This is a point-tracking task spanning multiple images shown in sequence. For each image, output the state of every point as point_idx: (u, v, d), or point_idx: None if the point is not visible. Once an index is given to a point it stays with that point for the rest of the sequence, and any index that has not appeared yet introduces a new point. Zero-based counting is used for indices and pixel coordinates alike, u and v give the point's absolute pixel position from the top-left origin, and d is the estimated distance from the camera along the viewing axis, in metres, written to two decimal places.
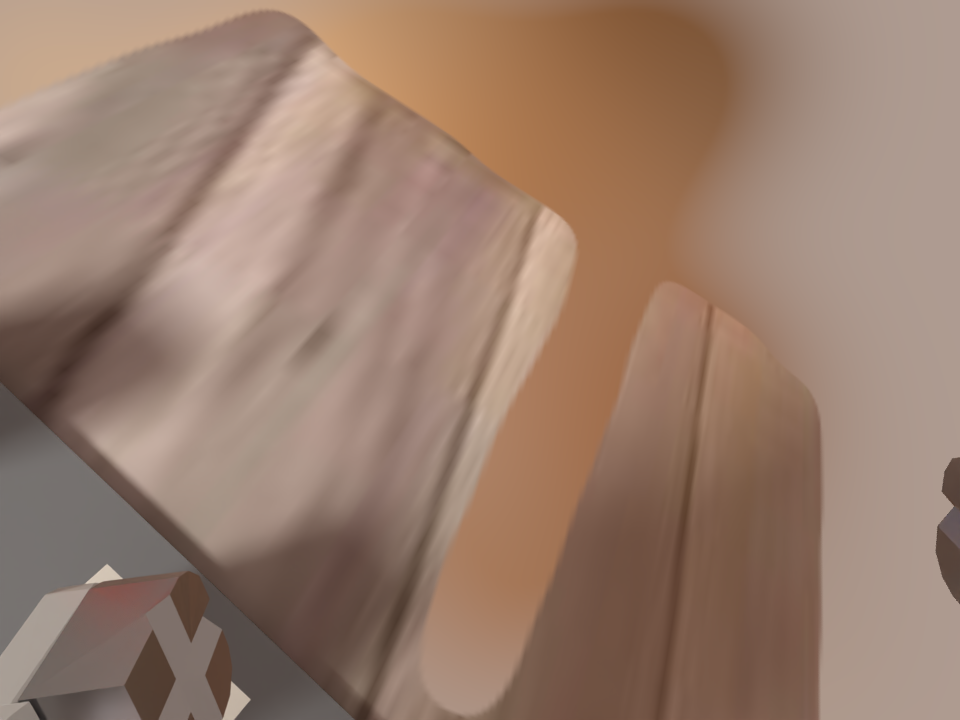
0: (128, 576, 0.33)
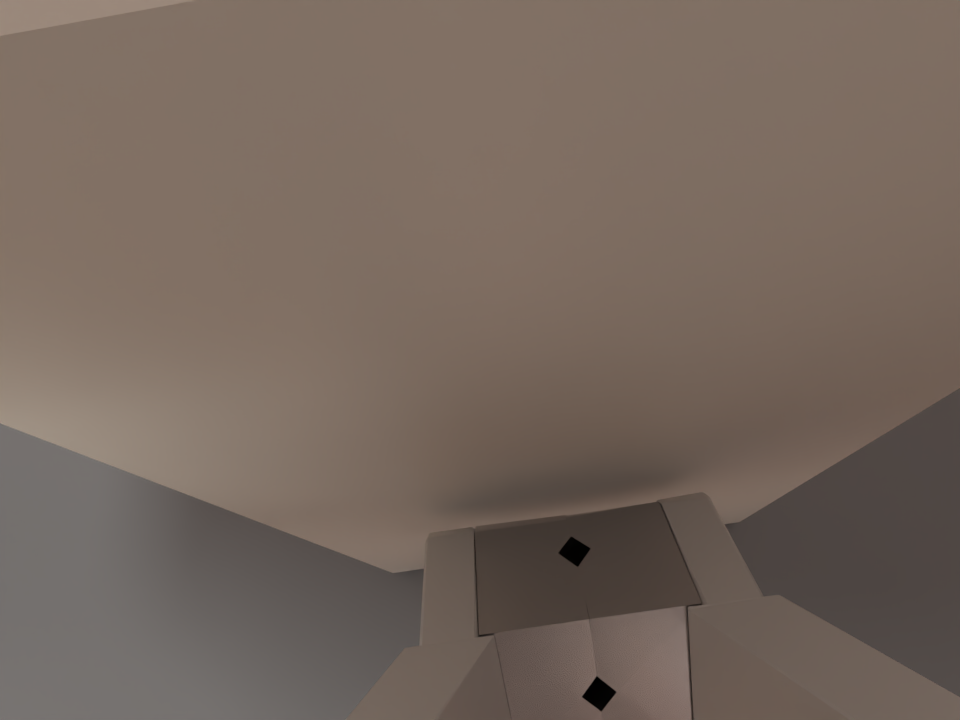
0: None
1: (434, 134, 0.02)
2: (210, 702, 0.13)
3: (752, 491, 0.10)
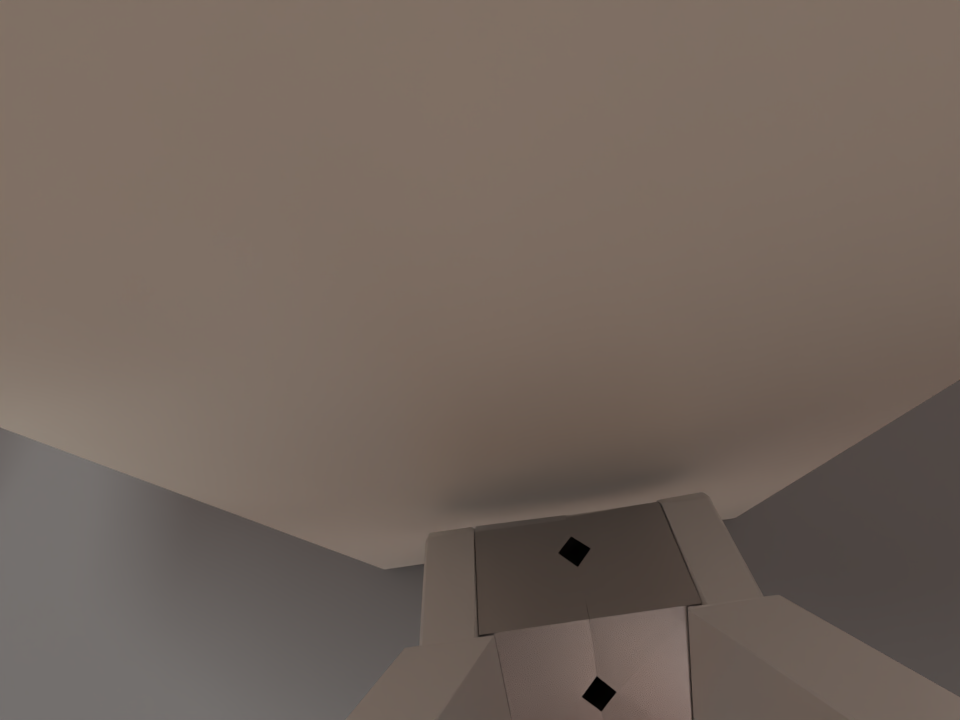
0: None
1: (395, 90, 0.02)
2: None
3: (748, 486, 0.09)
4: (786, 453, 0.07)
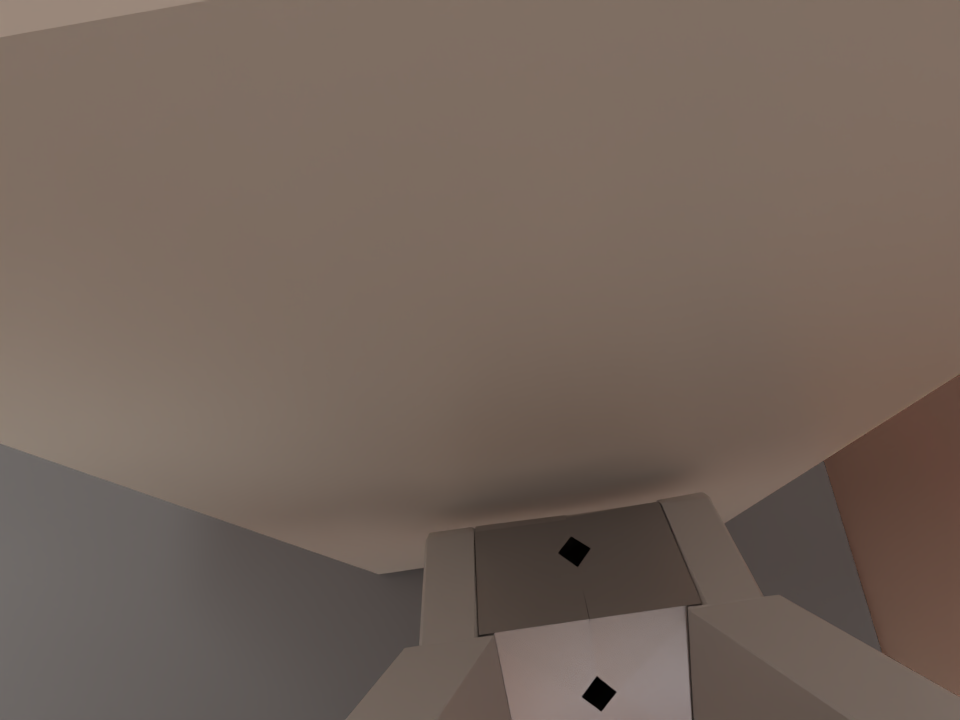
0: None
1: None
2: None
3: None
4: None
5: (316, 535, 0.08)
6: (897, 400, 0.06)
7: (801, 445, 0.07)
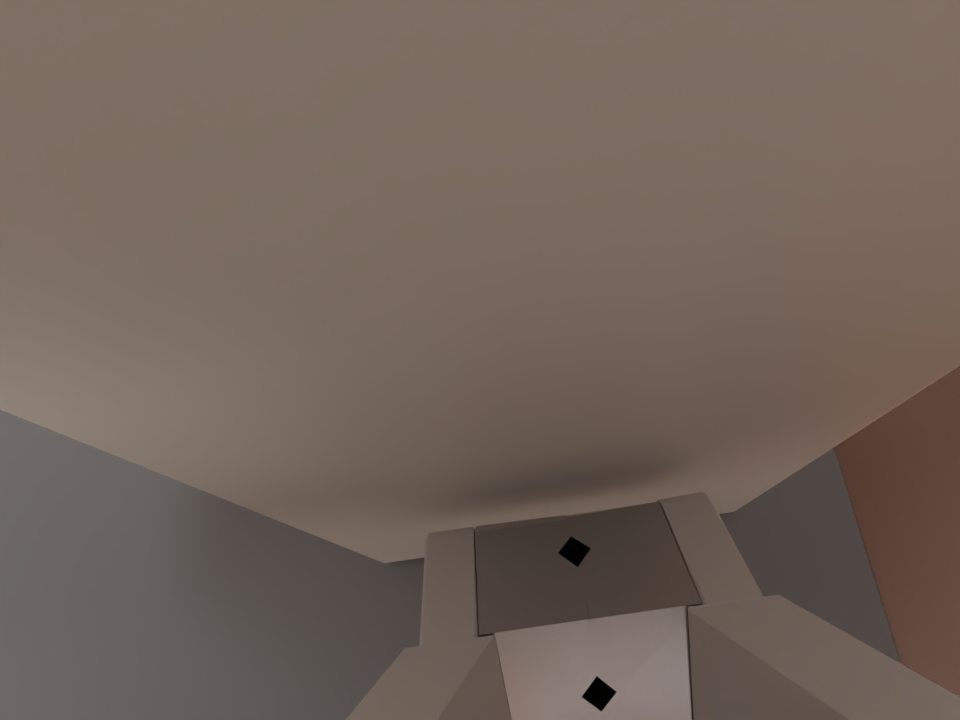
0: None
1: None
2: None
3: None
4: None
5: (323, 519, 0.08)
6: (922, 376, 0.06)
7: (820, 425, 0.07)
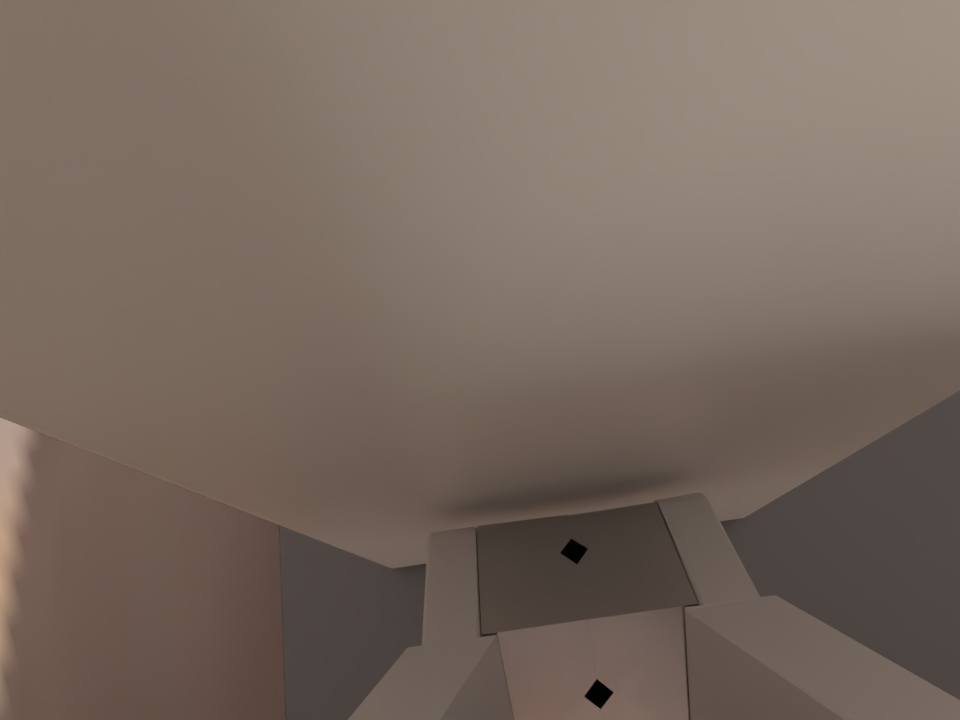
0: None
1: None
2: None
3: None
4: None
5: None
6: None
7: None
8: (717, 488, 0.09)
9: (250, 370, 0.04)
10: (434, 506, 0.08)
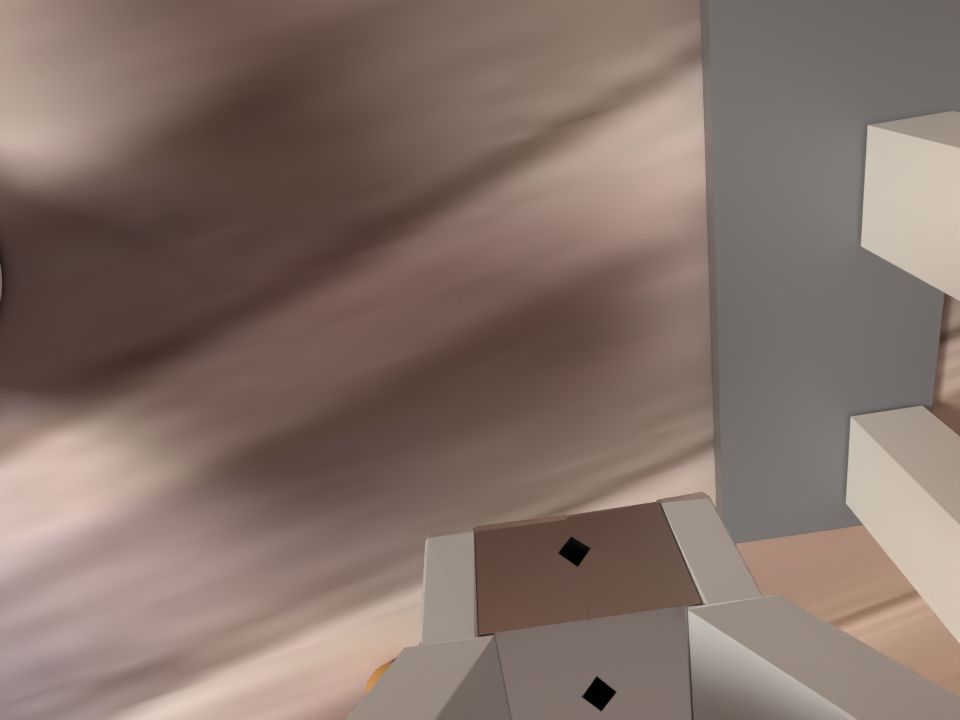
0: (918, 114, 0.35)
1: None
2: (755, 69, 0.34)
3: (897, 253, 0.34)
4: (922, 264, 0.33)
5: (898, 470, 0.38)
6: (914, 583, 0.38)
7: (901, 561, 0.39)
8: None
9: None
10: None
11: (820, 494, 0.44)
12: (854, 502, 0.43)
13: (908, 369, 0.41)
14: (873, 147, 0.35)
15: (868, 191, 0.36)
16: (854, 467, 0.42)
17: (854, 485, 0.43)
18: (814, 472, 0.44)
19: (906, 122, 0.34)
